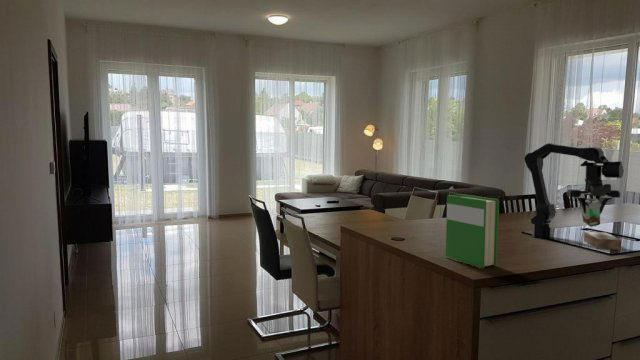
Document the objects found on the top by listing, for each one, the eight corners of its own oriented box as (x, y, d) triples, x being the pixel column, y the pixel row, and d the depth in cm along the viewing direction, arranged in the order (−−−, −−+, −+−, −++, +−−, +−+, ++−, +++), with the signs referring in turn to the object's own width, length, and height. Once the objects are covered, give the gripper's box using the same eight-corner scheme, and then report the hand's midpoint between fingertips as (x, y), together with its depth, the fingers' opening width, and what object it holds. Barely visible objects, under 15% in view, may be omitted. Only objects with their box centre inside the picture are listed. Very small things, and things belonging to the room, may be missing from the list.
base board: (596, 248, 186) (596, 238, 185) (583, 241, 200) (584, 231, 200) (620, 249, 184) (621, 239, 183) (606, 241, 198) (606, 232, 198)
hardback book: (497, 266, 160) (499, 199, 158) (482, 269, 156) (484, 200, 154) (460, 255, 175) (461, 194, 173) (445, 257, 172) (447, 195, 170)
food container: (608, 225, 186) (605, 202, 185) (591, 227, 187) (589, 204, 187) (597, 219, 198) (594, 197, 197) (582, 221, 199) (579, 198, 198)
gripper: (574, 178, 186) (573, 215, 187) (626, 178, 181) (624, 217, 182) (567, 176, 196) (566, 212, 197) (615, 176, 192) (614, 213, 193)
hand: (592, 213), depth 192 cm, fingers closed on food container, 6 cm apart
